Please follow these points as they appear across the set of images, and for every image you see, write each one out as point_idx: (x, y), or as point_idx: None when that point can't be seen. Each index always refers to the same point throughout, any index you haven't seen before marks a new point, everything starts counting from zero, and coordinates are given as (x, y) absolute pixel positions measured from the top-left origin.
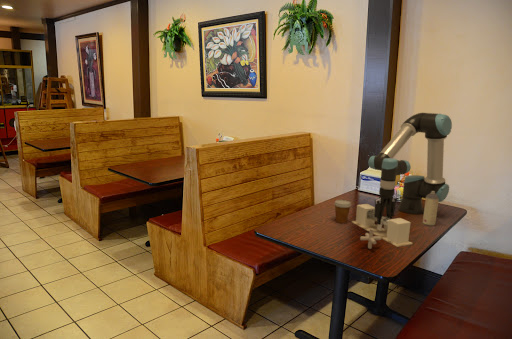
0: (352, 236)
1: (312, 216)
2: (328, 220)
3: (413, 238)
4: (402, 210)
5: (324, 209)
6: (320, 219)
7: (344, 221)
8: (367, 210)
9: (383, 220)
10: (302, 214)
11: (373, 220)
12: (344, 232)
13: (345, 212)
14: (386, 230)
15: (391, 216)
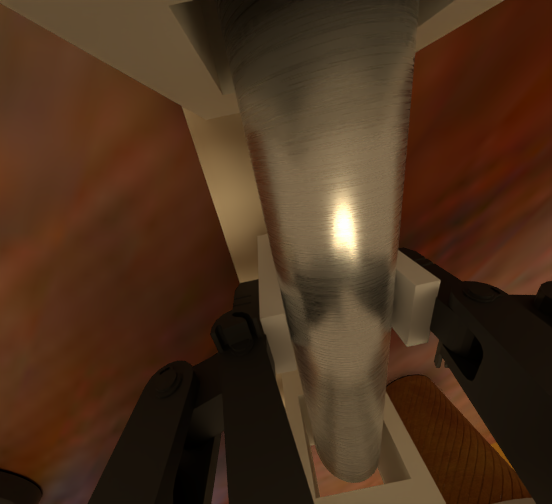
0: (533, 211)
1: (474, 424)
2: (450, 398)
3: (34, 72)
4: (19, 487)
5: (377, 468)
6: (472, 405)
7: (416, 384)
8: (414, 483)
9: (395, 266)
10: (490, 435)
11: (295, 377)
12: (515, 275)
13: (468, 448)
14: (243, 269)
15: (204, 361)
